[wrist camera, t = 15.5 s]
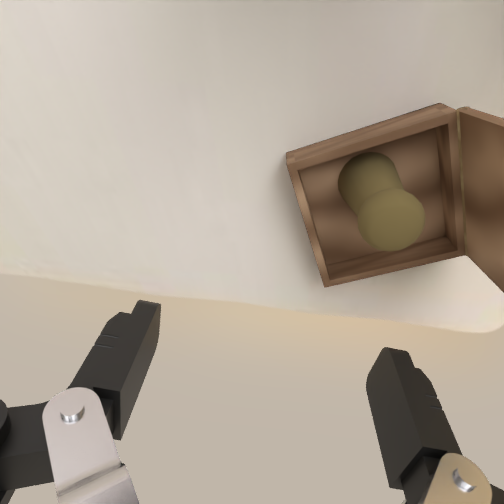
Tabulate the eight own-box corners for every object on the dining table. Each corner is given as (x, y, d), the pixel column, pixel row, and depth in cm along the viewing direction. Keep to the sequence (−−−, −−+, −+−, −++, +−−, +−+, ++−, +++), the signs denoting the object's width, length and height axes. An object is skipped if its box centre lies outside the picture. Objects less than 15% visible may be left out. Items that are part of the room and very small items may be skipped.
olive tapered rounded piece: (381, 213, 39) (413, 270, 30) (328, 199, 39) (344, 252, 29) (408, 161, 36) (453, 206, 27) (351, 144, 36) (376, 184, 26)
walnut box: (286, 152, 37) (286, 165, 34) (439, 102, 34) (457, 110, 30) (321, 267, 44) (324, 287, 41) (450, 236, 41) (466, 254, 38)
